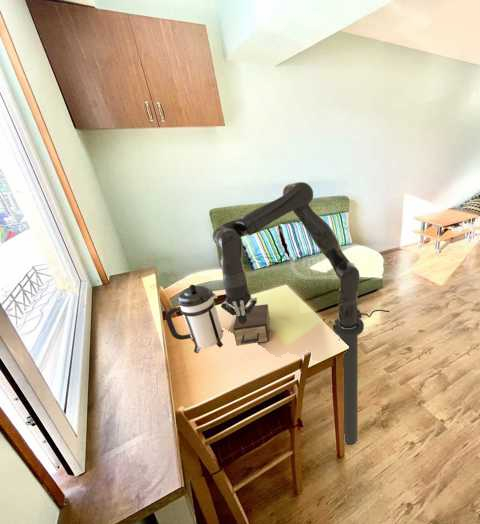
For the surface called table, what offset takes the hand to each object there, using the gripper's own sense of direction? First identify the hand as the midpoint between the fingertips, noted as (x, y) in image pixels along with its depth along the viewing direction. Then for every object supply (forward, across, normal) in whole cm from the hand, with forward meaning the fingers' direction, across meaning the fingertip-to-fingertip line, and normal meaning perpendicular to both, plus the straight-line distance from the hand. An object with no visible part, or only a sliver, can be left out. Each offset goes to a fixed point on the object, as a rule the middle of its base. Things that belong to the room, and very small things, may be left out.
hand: (243, 322), depth 106 cm
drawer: (+18, 0, -16) cm, 24 cm away
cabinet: (+19, 0, -20) cm, 28 cm away
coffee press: (+19, +20, -16) cm, 32 cm away
